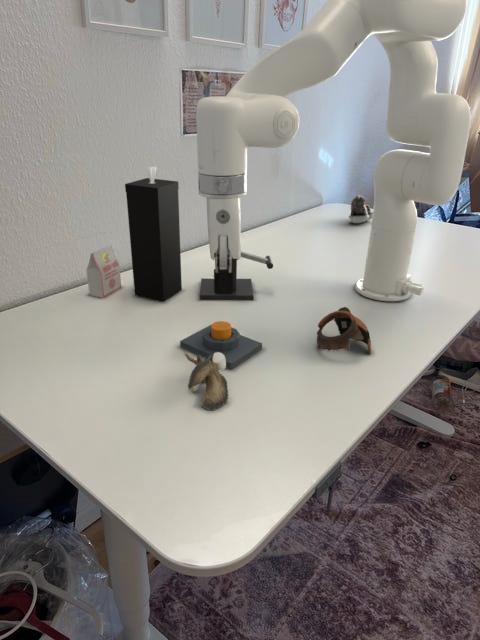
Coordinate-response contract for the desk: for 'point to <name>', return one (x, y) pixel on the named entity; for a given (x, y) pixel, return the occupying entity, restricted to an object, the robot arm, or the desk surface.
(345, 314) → the brown curved open piece
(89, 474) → the desk surface
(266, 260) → the switch lever
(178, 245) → the black tall block
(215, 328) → the warm button
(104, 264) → the strawberry milk carton
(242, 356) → the control block
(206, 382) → the furry animal figurine
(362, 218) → the bison figurine
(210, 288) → the lever press stand
